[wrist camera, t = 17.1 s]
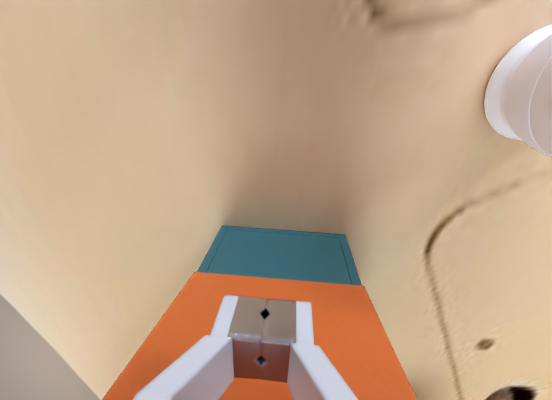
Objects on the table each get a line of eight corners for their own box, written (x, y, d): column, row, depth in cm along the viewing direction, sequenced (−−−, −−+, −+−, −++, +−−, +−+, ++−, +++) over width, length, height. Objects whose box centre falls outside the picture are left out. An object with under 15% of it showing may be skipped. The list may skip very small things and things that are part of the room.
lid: (611, 868, 4) (631, 852, 4) (-113, 729, 5) (-126, 710, 5) (362, 294, 20) (364, 285, 20) (194, 280, 21) (194, 271, 21)
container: (327, 334, 34) (335, 399, 27) (227, 324, 35) (209, 386, 28) (345, 234, 28) (362, 285, 21) (221, 225, 28) (196, 272, 21)
